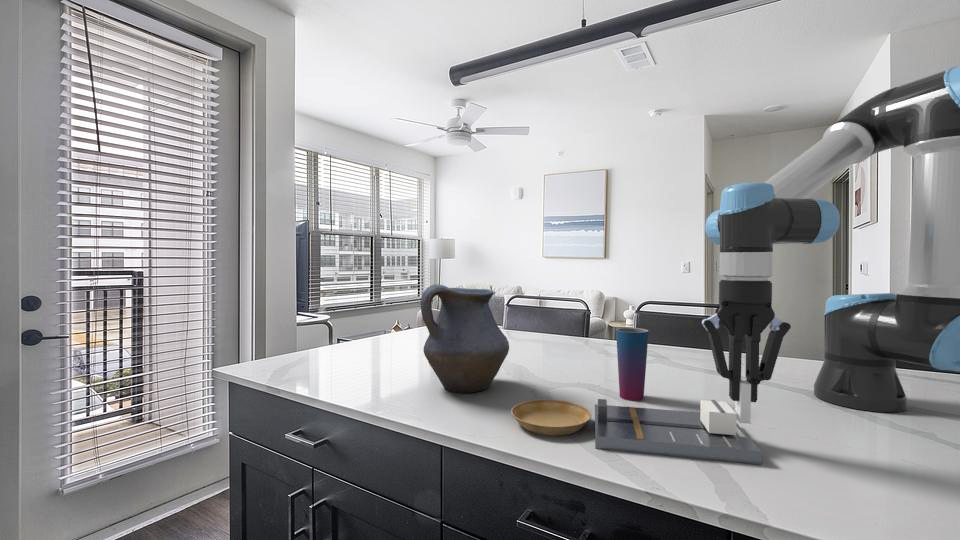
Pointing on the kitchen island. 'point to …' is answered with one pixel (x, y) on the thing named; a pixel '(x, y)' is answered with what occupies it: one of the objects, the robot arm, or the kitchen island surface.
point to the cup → (632, 362)
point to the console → (669, 434)
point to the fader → (718, 417)
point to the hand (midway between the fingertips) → (742, 420)
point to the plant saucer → (551, 416)
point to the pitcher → (463, 338)
